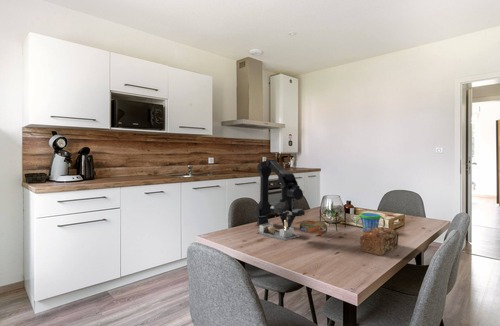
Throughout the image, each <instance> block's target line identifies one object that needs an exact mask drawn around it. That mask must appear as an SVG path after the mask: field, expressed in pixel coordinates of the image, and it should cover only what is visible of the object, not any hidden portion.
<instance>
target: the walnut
mask: <svg viewBox="0 0 500 326" xmlns="http://www.w3.org/2000/svg"><path fill="white" fill-rule="evenodd" d="M275 229H276V227H275V226H273V227H272V226H271V227H268V233H271V234H273V233H275Z"/></svg>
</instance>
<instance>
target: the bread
mask: <svg viewBox="0 0 500 326" xmlns="http://www.w3.org/2000/svg"><path fill="white" fill-rule="evenodd" d="M359 243H360V250H361V251H362V252H364V253H367V254H371V255H375V256H383V255H385V254H388V253H390V252H392V251H393V250H395V249H397V248H398V244H399V233H398V231H397V230H395V229H392V228H389V227H386V226H385V227H383V226H381V227H380V226H378V227H376V228H373V229H370V230H368V231H366V232H364V231H363V233H362V234H361V235H360V238H359Z"/></svg>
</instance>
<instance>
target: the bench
mask: <svg viewBox="0 0 500 326" xmlns="http://www.w3.org/2000/svg"><path fill="white" fill-rule="evenodd" d="M271 226H272V227H274V223H272V222H268V223H266V224H261V225H260V226H259V232H256V234H257V235H261V236H264V237H268V238H271V239H275V240H278V241H279V240H280V241H283V242H285V241H289V240H292V239H295V238H299V237H301V236H302V235H300V234H297V233H294V236H291V237H287V238H283V237H280V229H277V228H275V233H273V234H271V233H268V227H271Z"/></svg>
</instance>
